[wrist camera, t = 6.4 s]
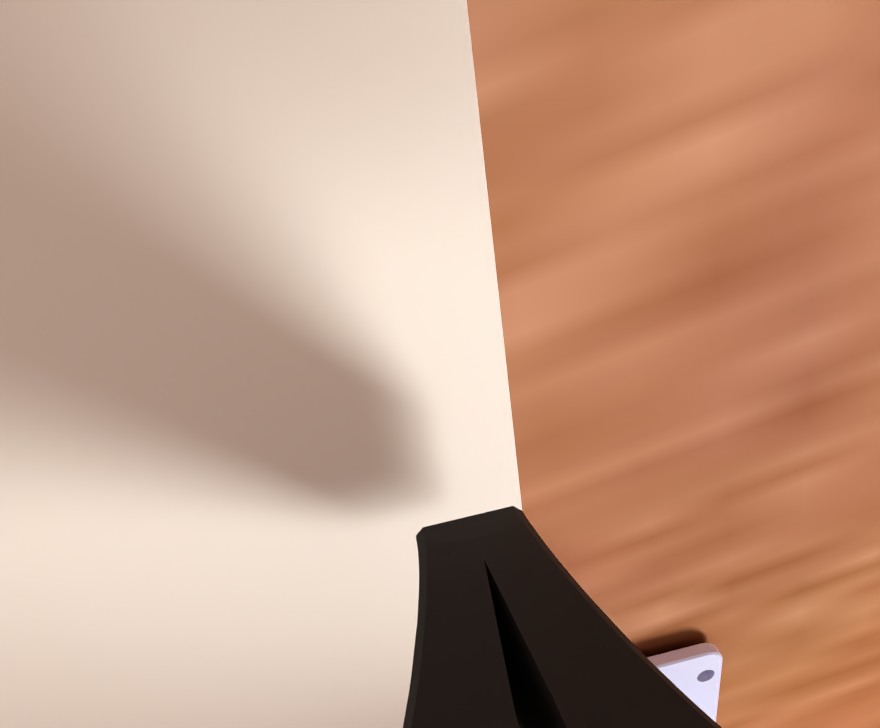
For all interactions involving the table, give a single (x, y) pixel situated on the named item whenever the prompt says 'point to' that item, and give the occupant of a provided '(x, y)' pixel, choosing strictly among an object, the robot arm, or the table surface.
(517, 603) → the robot arm
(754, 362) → the table surface
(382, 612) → the slot board
